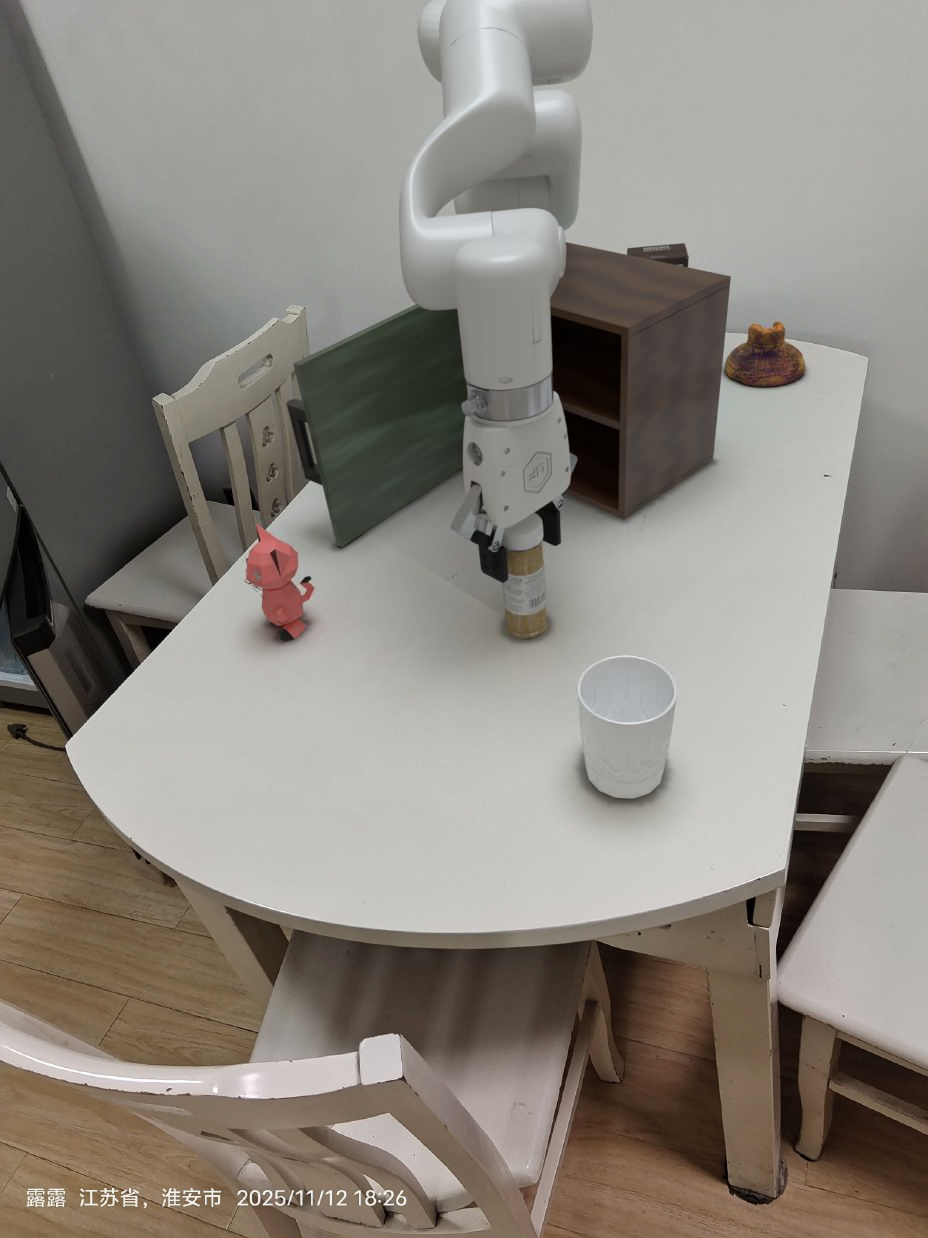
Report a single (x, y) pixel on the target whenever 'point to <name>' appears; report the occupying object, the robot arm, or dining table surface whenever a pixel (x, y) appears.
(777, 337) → the bell
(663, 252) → the coffee box
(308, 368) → the door
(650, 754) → the white cup
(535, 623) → the sprinkles bottle
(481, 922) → the dining table surface
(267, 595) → the cat figurine
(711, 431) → the cupboard
